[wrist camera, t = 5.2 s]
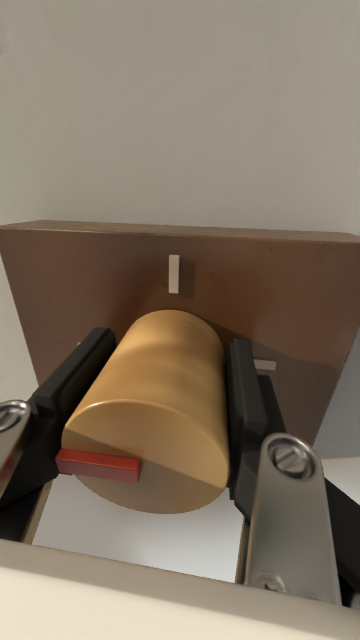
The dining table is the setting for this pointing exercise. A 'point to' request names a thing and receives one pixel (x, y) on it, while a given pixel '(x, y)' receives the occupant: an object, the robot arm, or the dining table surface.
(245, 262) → the panel
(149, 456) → the dial
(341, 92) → the dining table surface
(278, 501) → the robot arm
